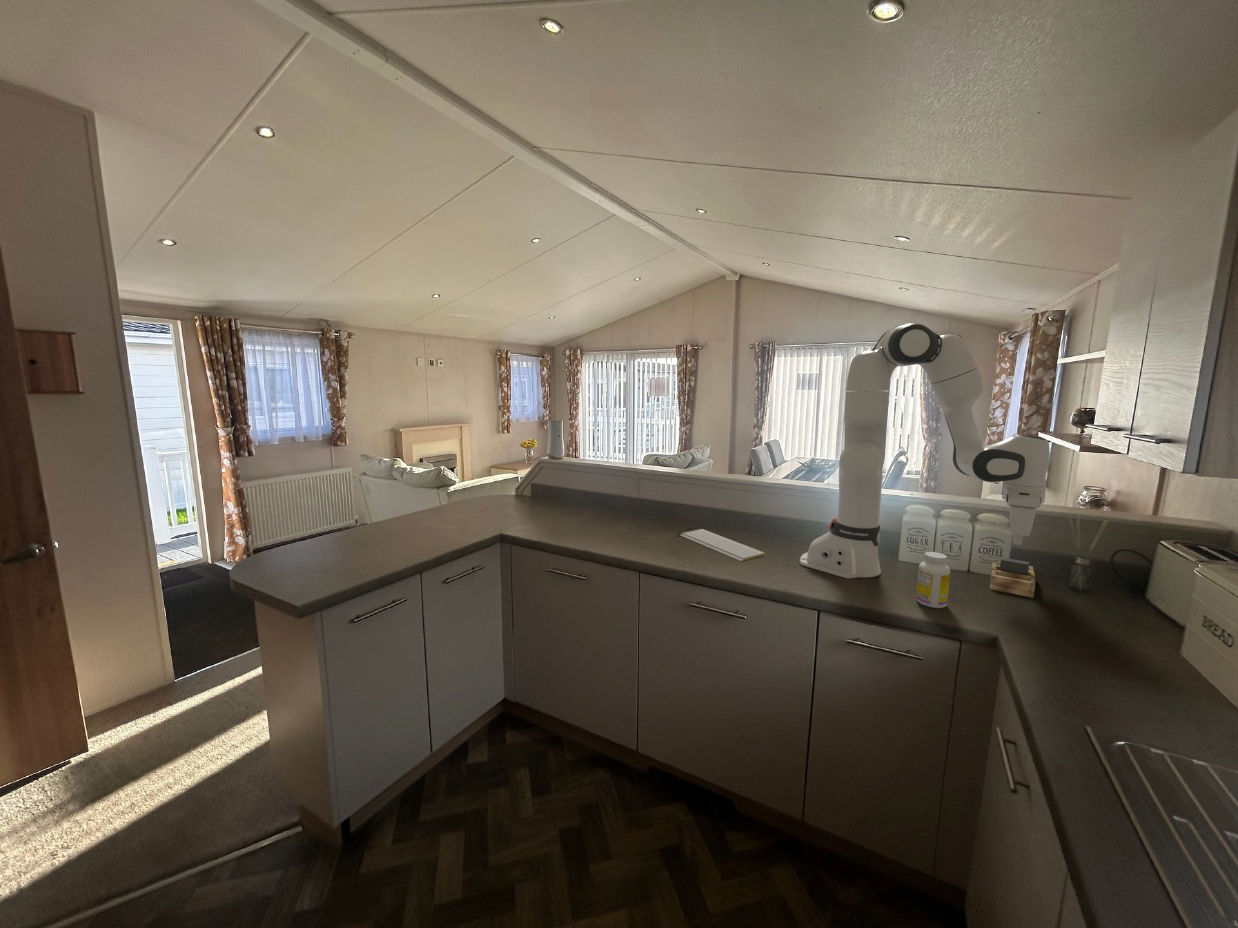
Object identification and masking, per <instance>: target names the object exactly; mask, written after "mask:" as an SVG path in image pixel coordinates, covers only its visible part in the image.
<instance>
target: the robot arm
mask: <svg viewBox="0 0 1238 928" xmlns="http://www.w3.org/2000/svg"><path fill="white" fill-rule="evenodd" d="M914 365H919V366H920V367H921V368H922V369H923V370H924V372H925V373H926V375H927V379H928V381H929V384H930V387H931V388H932V391H933V393H934V395H935V397H936V400H937V401H938V402H939V403H938V404H939V406H940V408H941V410H942V412H943V414H944V418H945V421H946V424H947V428H948V431H949V433H950V436H951V439H952V443H953V453H952V462H953V465H954V467H955V469H956V470H957V471H958V472H959V474H960V473H961V474H962V475H965V476H968V477H972V478H974V479H975V480H976V479H977V480H979V481H982V482H985V483H998V482H1003V485H1002V494H1001V498H1002V500H1004V501H1005V502H1006V505H1007V506H1008V508H1009V512H1010V513H1009V514H1010V515H1009V519H1010V533H1011V535H1013V536H1012V537H1013V540H1012V541H1013V542H1012V543H1013V545H1015V546H1022V544H1023V538H1024V537H1028V536H1030V535H1031V531H1032V528H1033V524H1034V520H1035V516H1036V512H1037V509H1039V508H1040V507H1041V505H1042V504H1044V503H1045V498H1046V491H1047V481H1046V476H1047V473H1048V471H1049V468H1050V467H1049V466H1050V458H1051V457H1050V456H1051V453H1050V444H1049V441H1048V440H1047V439H1045V438H1044V437H1041V436H1037V435H1030V434H1026V433H1025V434H1024V433H1013V434H1012V435H1011V436H1009V437H1007V438H1005V439H1003V440H1002V441H999V442H997V443H996V442H995V443H992V444H987V443H986V442H985V441H984V440H983V438H981V437H980V434H979V432H978V428H977V424H976V421H975V419H974V415H973V407H974V404H975V403H976V401H978V400H979V399H980V397H981V396H982V393H983V390H984V386H983V380H982V375H981V372H980V369H979V367H978V365H977V363H976V361H975V358H974V356H973V354H972V352H971V351H970V349H969V347H968V346H967V345H966V343H965V341H964V340H963V339H962V338H961V337H960V336H959V335H957V334H950V333H949V334H942V335H939V334H938V333H936V332H935V331H933V330H932V329H930V328H929V327H927V326H926V325H923V324H921V323H917V322H911V323H910V322H909V323H906V324H899V325H897V326H894V327H893V328H890V329H889V330H887V331H885V332H884V333H883V334H882V335H881V336H880V338H879V339H878V340H877V342H876V344H875V345H874V346H873V348H872V349H871V350H867V351H861V352H860V353H858V354H856V355H854V357H853V358H852V359H851V362H850V365H849V369H848V374H847V379H846V387H845V397H844V398H845V401H844V416H843V420H844V421H843V422H844V439H843V440H844V442H843V443H844V445H843V450H842V451H841V453H840V455H839V461H838V462H839V463H838V504H837V505H838V507H837V517H834V518H832V519H831V521H830V523H829V524H828V525H829V526H828V529H829V531H828V532H826V533H824V534H822V535H820V536H818V537H817V538H815V539H814V540H813V541H811V543H810V545H809V547H808V550H807V552H805V553H803V554H802V555H801V556H800V558H799V565H800V566H804V567H807V568H810V569H814V570H817V571H821V572H824V573H827V574H831V575H834V576H837V577H840V578H844V579H856V578H874V577H878V576H880V575H881V574H882V570H881V566H880V558H879V547H878V546H879V543H880V539H881V525H880V524H879V523H880V513H881V512H880V511H881V504H882V503H881V502H882V501H881V500H882V488H883V487H882V486H883V485H882V483H883V471H884V464H885V463H884V462H885V459H886V447H887V446H886V444H887V431H888V429H887V428H888V414H889V402H890V390H891V389H890V387H891V378H892V375H893V372H894V371H895V370H896V368H898V367H909V366H914Z"/></svg>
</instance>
